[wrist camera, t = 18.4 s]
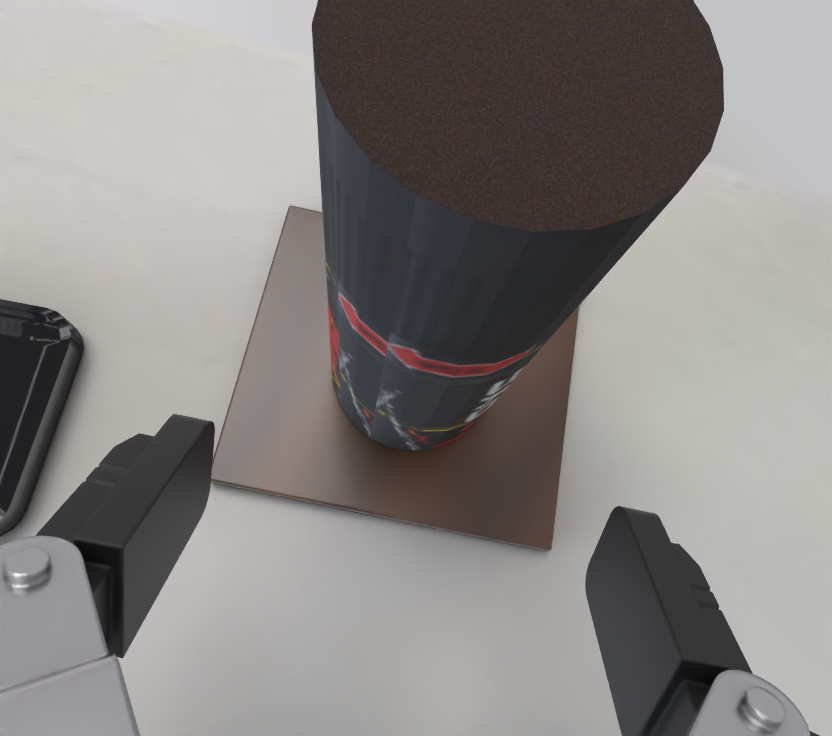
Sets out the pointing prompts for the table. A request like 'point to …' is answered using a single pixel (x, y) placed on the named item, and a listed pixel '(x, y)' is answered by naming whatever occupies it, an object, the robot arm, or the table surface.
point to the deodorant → (489, 183)
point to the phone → (30, 397)
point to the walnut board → (367, 459)
